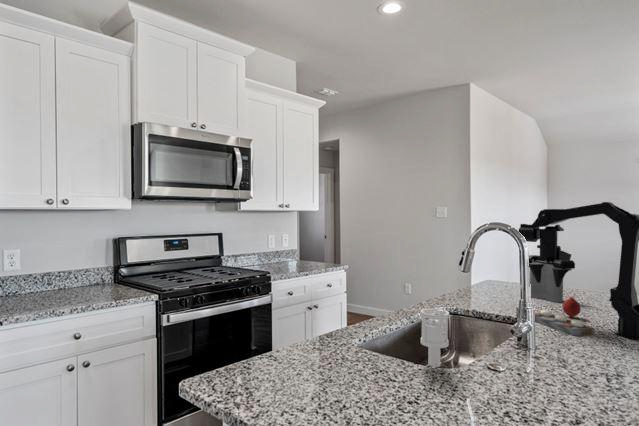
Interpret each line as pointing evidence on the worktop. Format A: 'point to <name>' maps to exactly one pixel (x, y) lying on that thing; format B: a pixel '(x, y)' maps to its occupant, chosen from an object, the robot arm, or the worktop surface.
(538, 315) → the button board
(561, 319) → the middle button
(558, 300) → the flask
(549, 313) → the far button
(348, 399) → the worktop surface
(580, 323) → the near button
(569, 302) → the onion
